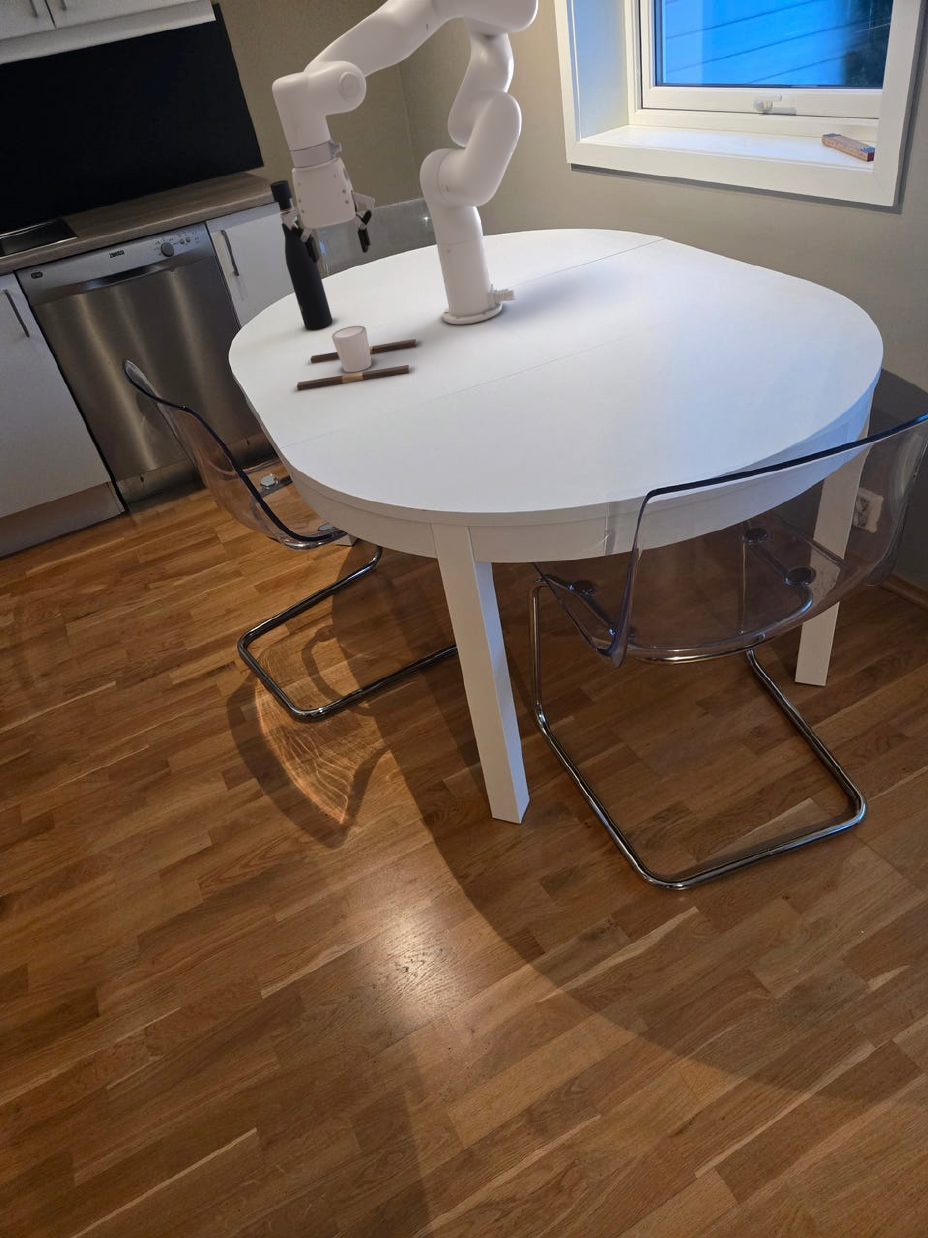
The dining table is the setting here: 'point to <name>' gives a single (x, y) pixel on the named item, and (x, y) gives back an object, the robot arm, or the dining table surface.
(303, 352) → the dining table surface
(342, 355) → the white cup
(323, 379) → the guide rails
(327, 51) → the robot arm
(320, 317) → the wine bottle
